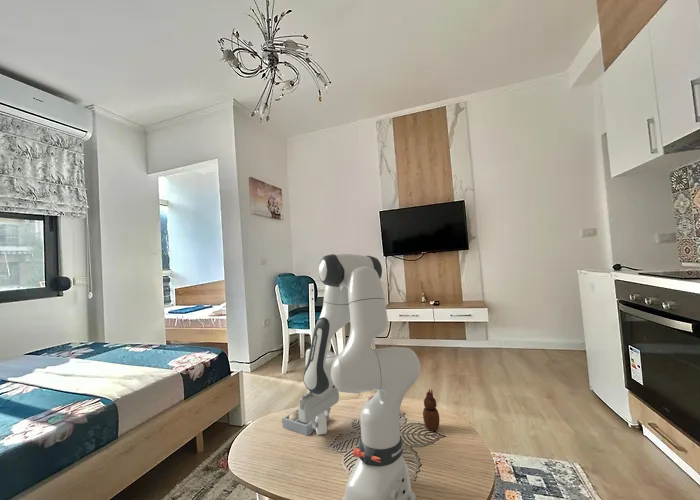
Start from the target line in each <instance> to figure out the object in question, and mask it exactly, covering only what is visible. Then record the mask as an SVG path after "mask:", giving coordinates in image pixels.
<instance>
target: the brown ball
mask: <svg viewBox="0 0 700 500" xmlns="http://www.w3.org/2000/svg"><path fill="white" fill-rule="evenodd" d="M292 412H293V413H292ZM292 412H291V414H290V413H289V414H290V416H289V419H290V420H293V421H296V420H297V419H299V413H297V412H294V411H292Z"/></svg>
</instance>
